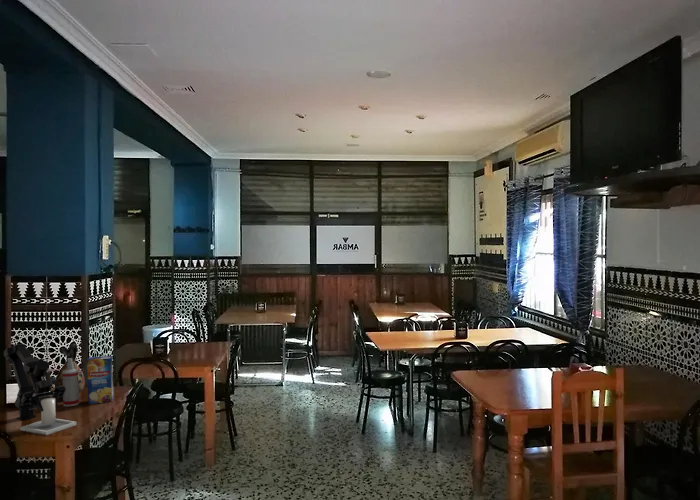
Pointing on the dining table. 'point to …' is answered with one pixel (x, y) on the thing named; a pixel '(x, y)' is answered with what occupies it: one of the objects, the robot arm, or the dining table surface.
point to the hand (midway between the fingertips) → (49, 409)
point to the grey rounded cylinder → (48, 411)
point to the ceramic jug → (72, 354)
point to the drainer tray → (48, 427)
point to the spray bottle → (70, 385)
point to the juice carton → (100, 379)
